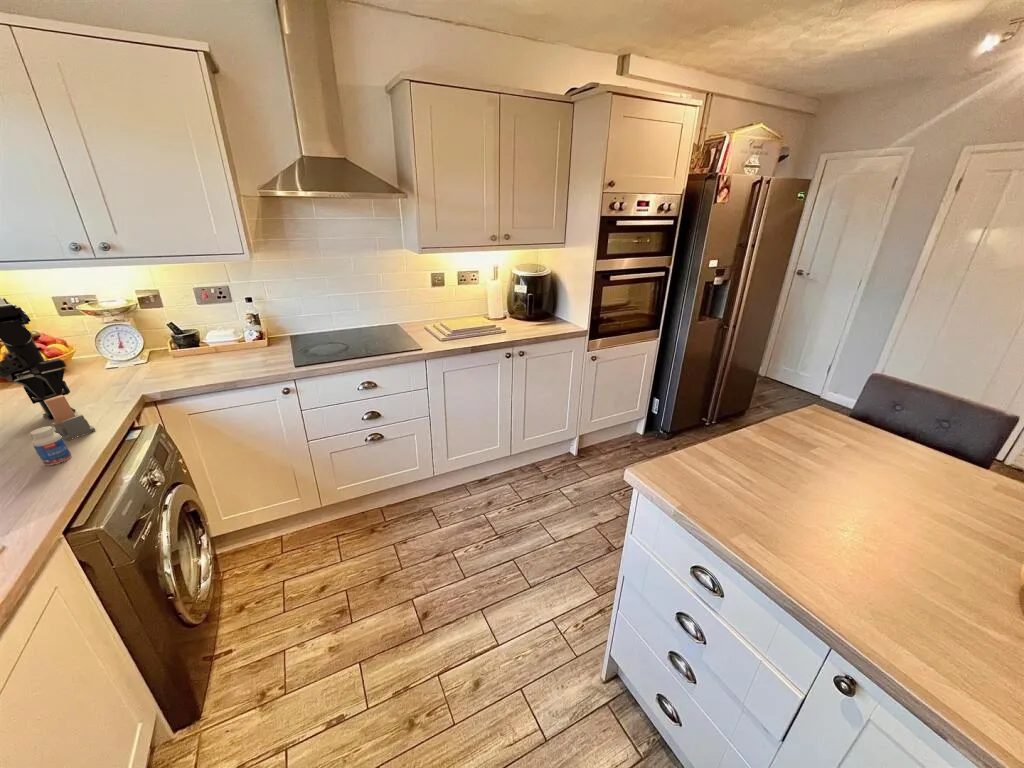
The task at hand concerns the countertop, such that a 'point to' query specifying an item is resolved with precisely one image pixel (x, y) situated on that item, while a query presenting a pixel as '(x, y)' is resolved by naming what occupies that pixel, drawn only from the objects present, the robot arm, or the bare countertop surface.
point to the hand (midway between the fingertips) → (50, 396)
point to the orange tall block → (59, 409)
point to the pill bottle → (50, 446)
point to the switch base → (73, 427)
